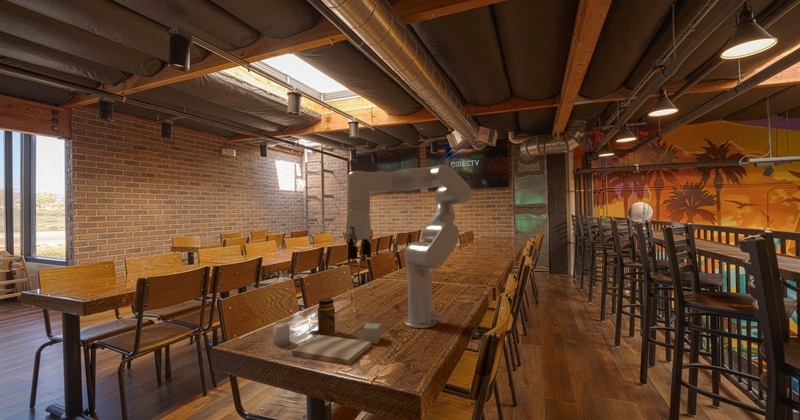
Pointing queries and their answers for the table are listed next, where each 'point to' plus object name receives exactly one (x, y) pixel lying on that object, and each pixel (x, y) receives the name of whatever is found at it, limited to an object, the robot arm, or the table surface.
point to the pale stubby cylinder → (281, 334)
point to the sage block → (372, 332)
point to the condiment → (325, 318)
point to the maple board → (332, 349)
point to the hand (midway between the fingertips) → (360, 256)
